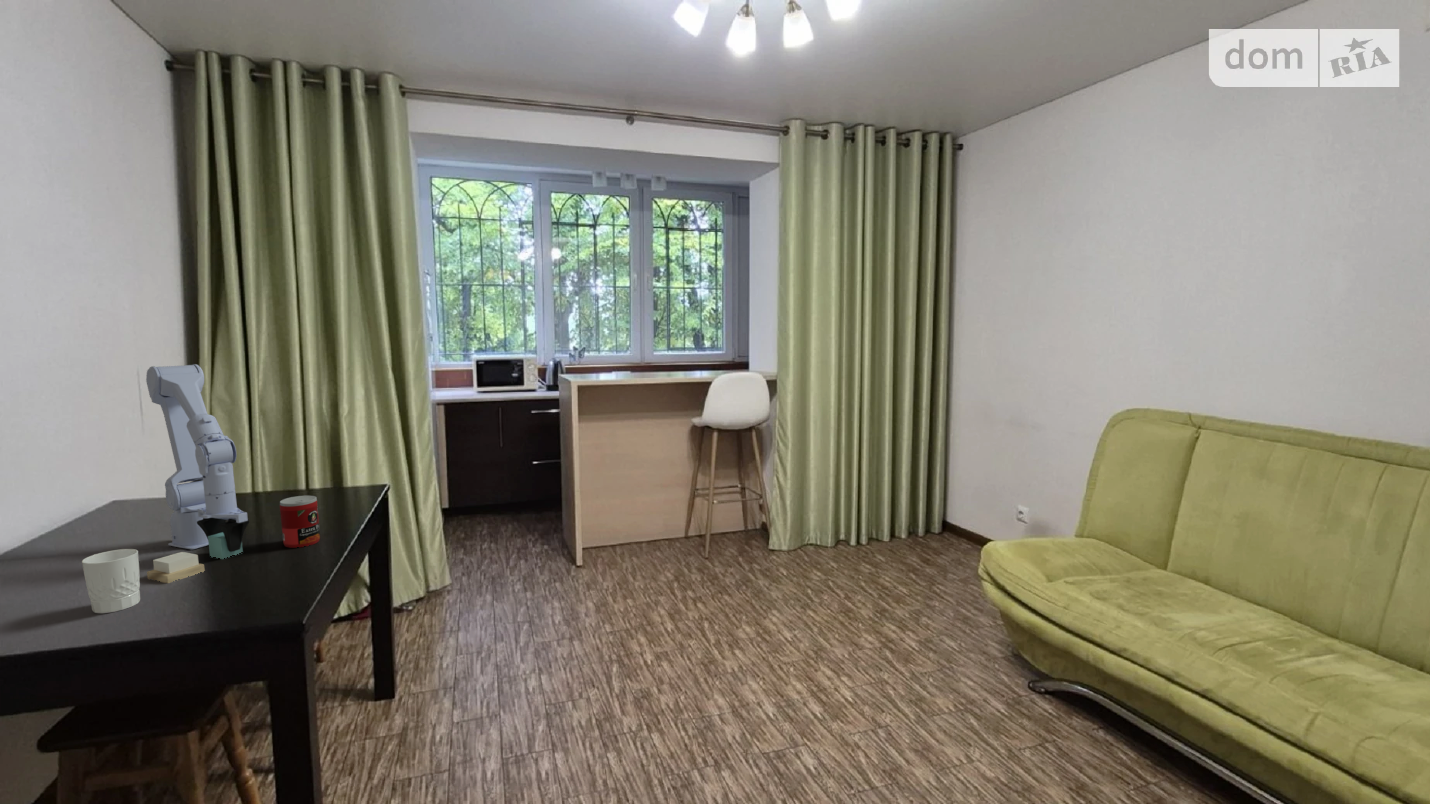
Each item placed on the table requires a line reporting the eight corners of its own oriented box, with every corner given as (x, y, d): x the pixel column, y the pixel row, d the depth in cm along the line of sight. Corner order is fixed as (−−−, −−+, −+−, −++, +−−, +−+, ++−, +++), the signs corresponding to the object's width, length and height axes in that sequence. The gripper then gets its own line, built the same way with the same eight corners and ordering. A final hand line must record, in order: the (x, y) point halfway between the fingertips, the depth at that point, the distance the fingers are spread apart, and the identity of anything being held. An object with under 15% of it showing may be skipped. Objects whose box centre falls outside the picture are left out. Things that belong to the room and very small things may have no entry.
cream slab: (154, 570, 139) (153, 560, 139) (183, 561, 144) (182, 551, 144) (169, 573, 137) (168, 563, 137) (198, 564, 142) (197, 554, 142)
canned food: (303, 549, 156) (299, 504, 154) (275, 547, 157) (270, 503, 156) (328, 538, 163) (324, 496, 162) (301, 537, 165) (297, 494, 163)
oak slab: (148, 581, 138) (146, 571, 138) (184, 569, 145) (183, 560, 145) (168, 586, 136) (167, 576, 136) (205, 574, 142) (203, 564, 142)
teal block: (210, 557, 151) (207, 536, 151) (230, 550, 155) (228, 530, 155) (222, 559, 150) (220, 538, 149) (243, 553, 154) (240, 532, 153)
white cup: (111, 598, 128) (105, 549, 127) (154, 596, 129) (148, 548, 128) (76, 616, 121) (69, 564, 119) (122, 614, 121) (115, 562, 120)
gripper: (180, 493, 150) (187, 550, 151) (221, 499, 144) (228, 558, 146) (214, 486, 156) (219, 541, 158) (254, 491, 151) (260, 548, 152)
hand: (226, 548), depth 152 cm, fingers open, 6 cm apart
